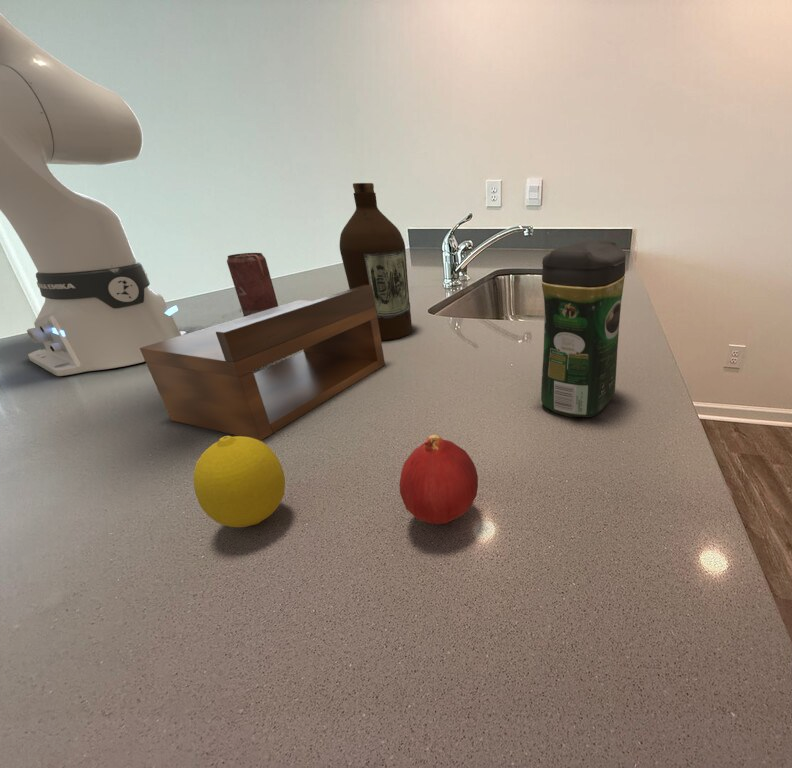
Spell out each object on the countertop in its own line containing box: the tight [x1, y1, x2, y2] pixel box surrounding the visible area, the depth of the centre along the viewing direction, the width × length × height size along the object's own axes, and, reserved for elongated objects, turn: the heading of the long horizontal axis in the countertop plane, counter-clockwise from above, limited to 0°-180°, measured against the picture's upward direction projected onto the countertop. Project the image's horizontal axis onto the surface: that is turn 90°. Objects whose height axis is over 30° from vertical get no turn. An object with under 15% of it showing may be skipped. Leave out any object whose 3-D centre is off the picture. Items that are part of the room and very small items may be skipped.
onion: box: [399, 434, 479, 525], centre depth 30 cm, size 6×6×8 cm
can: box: [226, 252, 279, 317], centre depth 77 cm, size 6×6×14 cm
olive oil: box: [339, 182, 413, 342], centre depth 70 cm, size 11×11×25 cm
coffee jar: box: [540, 239, 627, 418], centre depth 46 cm, size 10×8×19 cm
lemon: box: [193, 435, 286, 528], centre depth 31 cm, size 6×6×8 cm
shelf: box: [140, 285, 386, 442], centre depth 52 cm, size 14×22×12 cm, turn 160°
